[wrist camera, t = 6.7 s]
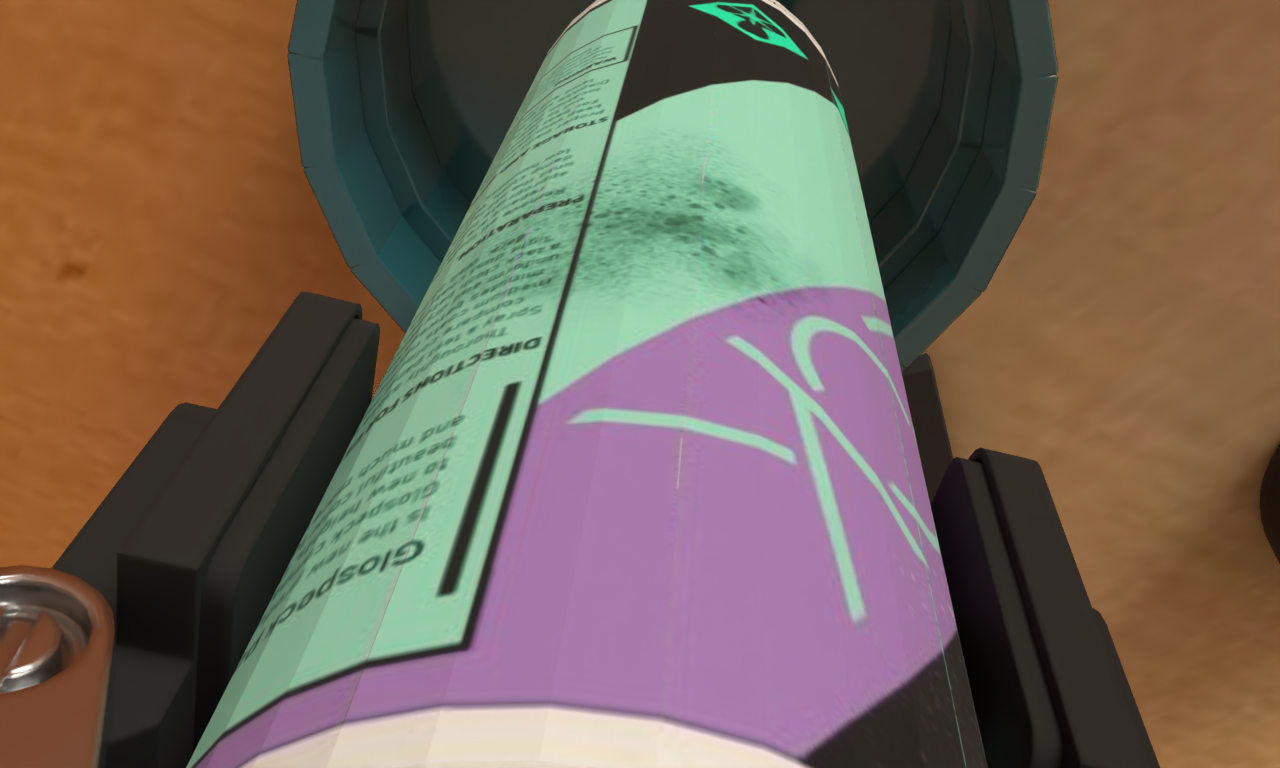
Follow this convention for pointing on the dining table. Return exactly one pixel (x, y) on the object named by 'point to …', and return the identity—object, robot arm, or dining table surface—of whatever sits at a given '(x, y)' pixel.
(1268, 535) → the travel mug
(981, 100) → the pan
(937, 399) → the mat
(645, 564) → the spray can
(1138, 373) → the dining table surface
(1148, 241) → the dining table surface
